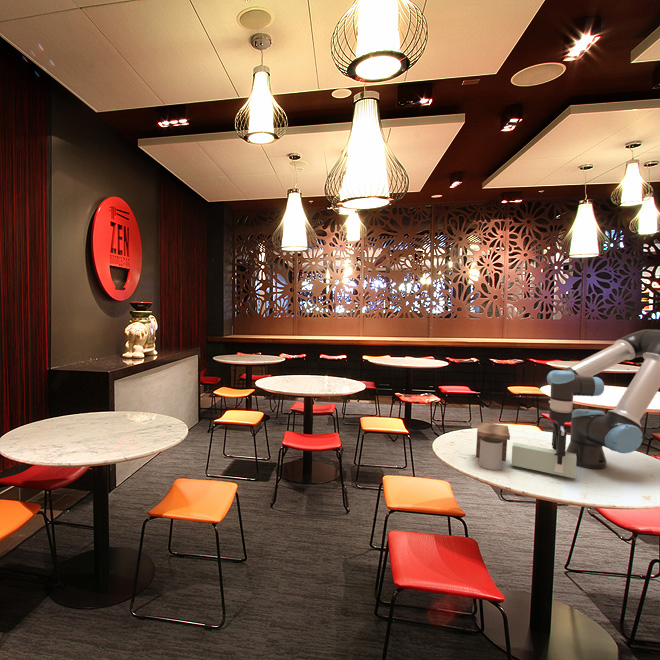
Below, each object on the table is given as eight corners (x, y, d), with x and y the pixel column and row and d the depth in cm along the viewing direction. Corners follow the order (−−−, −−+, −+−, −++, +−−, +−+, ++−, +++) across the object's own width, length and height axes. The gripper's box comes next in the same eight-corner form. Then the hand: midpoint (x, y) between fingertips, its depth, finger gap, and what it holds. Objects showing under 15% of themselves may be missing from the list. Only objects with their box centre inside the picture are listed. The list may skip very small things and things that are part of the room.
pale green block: (574, 474, 148) (576, 453, 148) (575, 478, 144) (576, 457, 144) (512, 461, 160) (513, 442, 159) (511, 464, 155) (512, 445, 155)
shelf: (505, 460, 164) (507, 425, 164) (507, 473, 150) (509, 436, 149) (476, 455, 169) (477, 421, 168) (475, 468, 154) (477, 431, 154)
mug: (502, 471, 152) (504, 444, 151) (479, 468, 154) (481, 441, 154) (499, 461, 163) (500, 435, 163) (477, 458, 166) (479, 433, 165)
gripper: (546, 404, 158) (542, 459, 159) (553, 414, 141) (549, 476, 142) (566, 406, 156) (563, 462, 157) (577, 417, 138) (573, 480, 139)
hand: (557, 468), depth 149 cm, fingers closed on pale green block, 5 cm apart
